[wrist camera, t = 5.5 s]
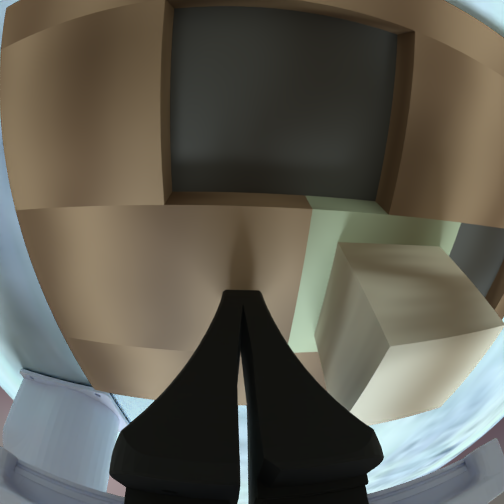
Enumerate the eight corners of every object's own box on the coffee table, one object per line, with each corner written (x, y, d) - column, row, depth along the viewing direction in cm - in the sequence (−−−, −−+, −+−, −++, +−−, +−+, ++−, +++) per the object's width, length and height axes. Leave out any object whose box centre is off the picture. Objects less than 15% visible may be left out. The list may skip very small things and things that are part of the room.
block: (314, 335, 13) (336, 431, 9) (337, 242, 10) (389, 346, 6) (403, 329, 13) (440, 407, 9) (439, 246, 11) (505, 324, 6)
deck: (100, 373, 17) (94, 390, 16) (27, 10, 6) (6, 7, 4) (456, 360, 19) (463, 373, 17) (555, 95, 7) (572, 101, 6)
